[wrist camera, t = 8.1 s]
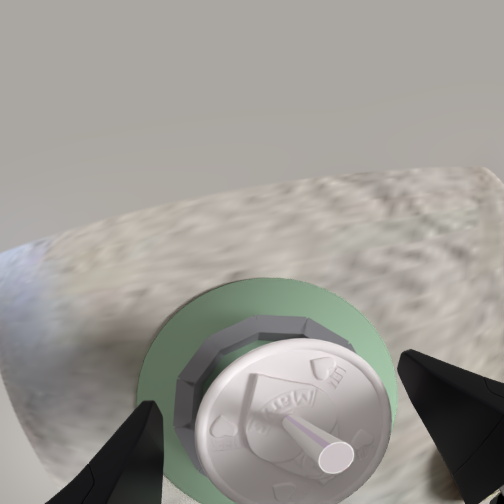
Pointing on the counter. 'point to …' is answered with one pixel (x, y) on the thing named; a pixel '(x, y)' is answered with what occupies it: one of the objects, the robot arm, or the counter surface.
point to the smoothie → (293, 424)
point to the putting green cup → (234, 346)
